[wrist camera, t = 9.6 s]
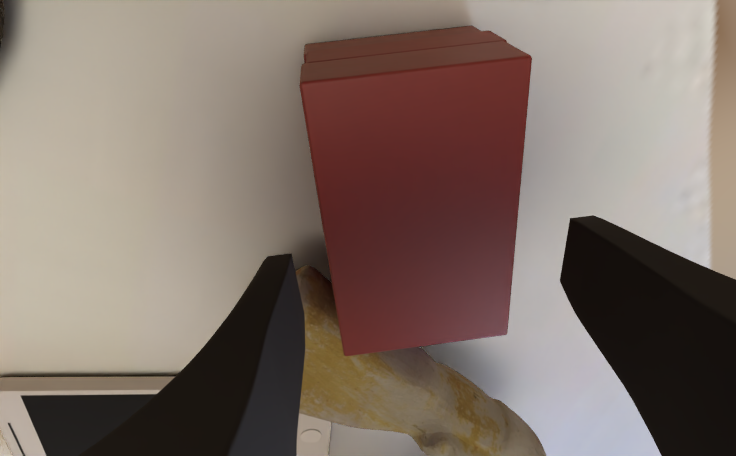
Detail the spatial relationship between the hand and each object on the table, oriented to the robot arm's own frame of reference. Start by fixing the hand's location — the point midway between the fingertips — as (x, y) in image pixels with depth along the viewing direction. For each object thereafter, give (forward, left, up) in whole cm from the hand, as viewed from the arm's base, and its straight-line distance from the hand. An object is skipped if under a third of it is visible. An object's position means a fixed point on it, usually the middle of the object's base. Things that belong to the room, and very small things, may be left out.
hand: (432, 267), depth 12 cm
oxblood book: (0, 0, -3) cm, 3 cm away
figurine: (-9, 0, -6) cm, 11 cm away
